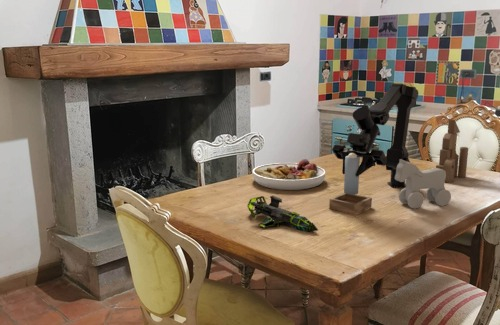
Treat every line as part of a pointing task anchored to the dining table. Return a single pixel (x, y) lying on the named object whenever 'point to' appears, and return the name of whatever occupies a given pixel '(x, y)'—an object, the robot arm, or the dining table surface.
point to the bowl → (289, 175)
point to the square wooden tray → (350, 203)
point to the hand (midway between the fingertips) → (349, 174)
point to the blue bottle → (351, 174)
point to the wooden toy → (452, 154)
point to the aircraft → (279, 214)
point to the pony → (421, 185)
